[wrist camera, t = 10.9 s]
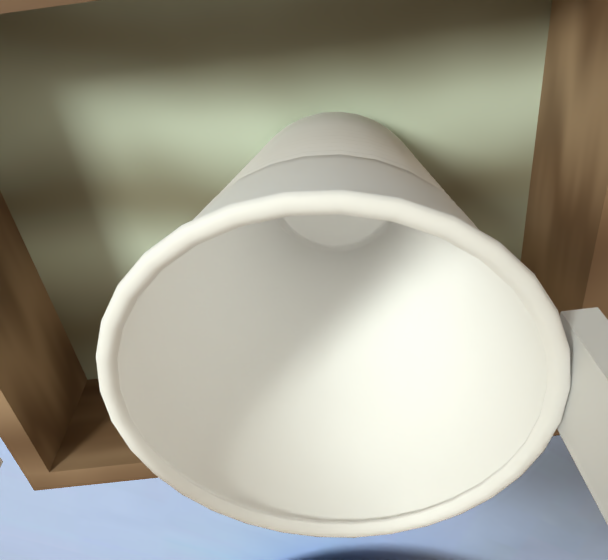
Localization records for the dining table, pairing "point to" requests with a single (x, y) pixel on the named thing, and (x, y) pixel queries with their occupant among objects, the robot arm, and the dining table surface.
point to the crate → (248, 143)
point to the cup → (333, 345)
